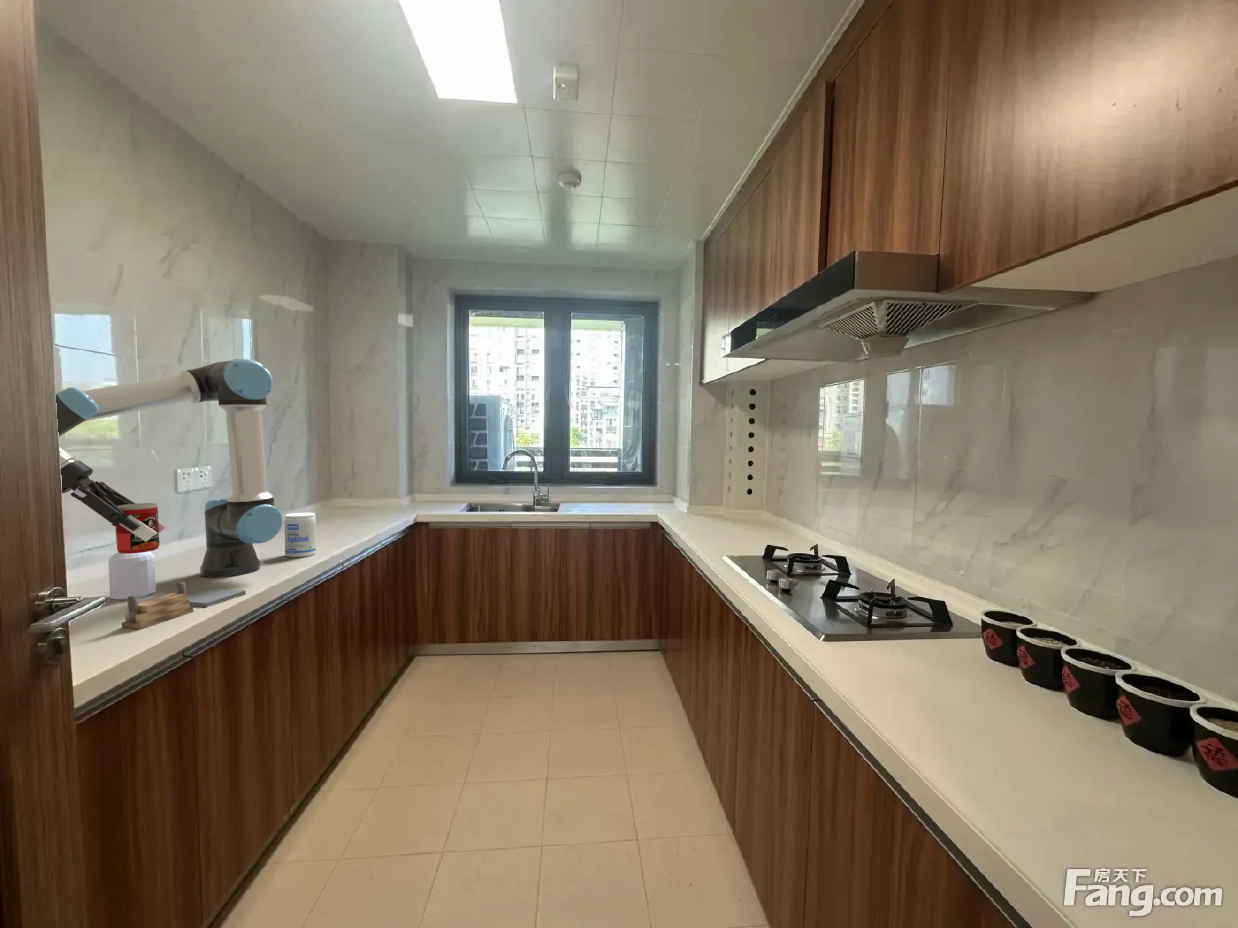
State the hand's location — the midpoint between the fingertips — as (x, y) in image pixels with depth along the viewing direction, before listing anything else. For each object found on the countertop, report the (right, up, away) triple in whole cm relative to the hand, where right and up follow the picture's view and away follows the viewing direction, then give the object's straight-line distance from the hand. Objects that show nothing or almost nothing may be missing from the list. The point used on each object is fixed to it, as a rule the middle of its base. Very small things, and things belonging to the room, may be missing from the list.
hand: (156, 534), depth 130 cm
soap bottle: (-17, -18, +12) cm, 27 cm away
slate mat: (+6, -18, +9) cm, 21 cm away
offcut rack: (+6, -19, -6) cm, 21 cm away
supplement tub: (0, -16, +60) cm, 62 cm away
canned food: (-3, -4, -1) cm, 5 cm away
